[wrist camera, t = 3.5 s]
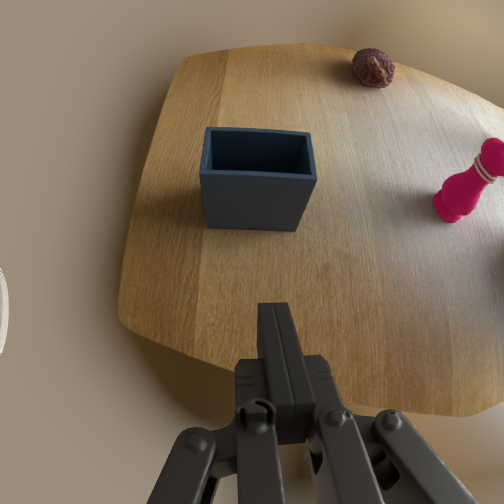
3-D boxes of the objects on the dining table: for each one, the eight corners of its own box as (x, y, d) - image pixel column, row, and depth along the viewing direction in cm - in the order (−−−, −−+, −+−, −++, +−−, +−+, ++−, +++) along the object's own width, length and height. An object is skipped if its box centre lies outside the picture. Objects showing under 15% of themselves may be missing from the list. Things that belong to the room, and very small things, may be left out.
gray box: (295, 231, 40) (317, 179, 29) (207, 228, 39) (198, 174, 28) (292, 189, 43) (310, 132, 32) (210, 185, 42) (206, 126, 31)
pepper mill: (465, 221, 44) (532, 161, 25) (443, 229, 42) (517, 162, 24) (447, 189, 46) (506, 122, 28) (424, 194, 45) (487, 119, 26)
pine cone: (335, 57, 60) (359, 33, 54) (362, 80, 65) (385, 57, 58) (355, 78, 50) (386, 48, 43) (385, 106, 54) (415, 79, 47)
